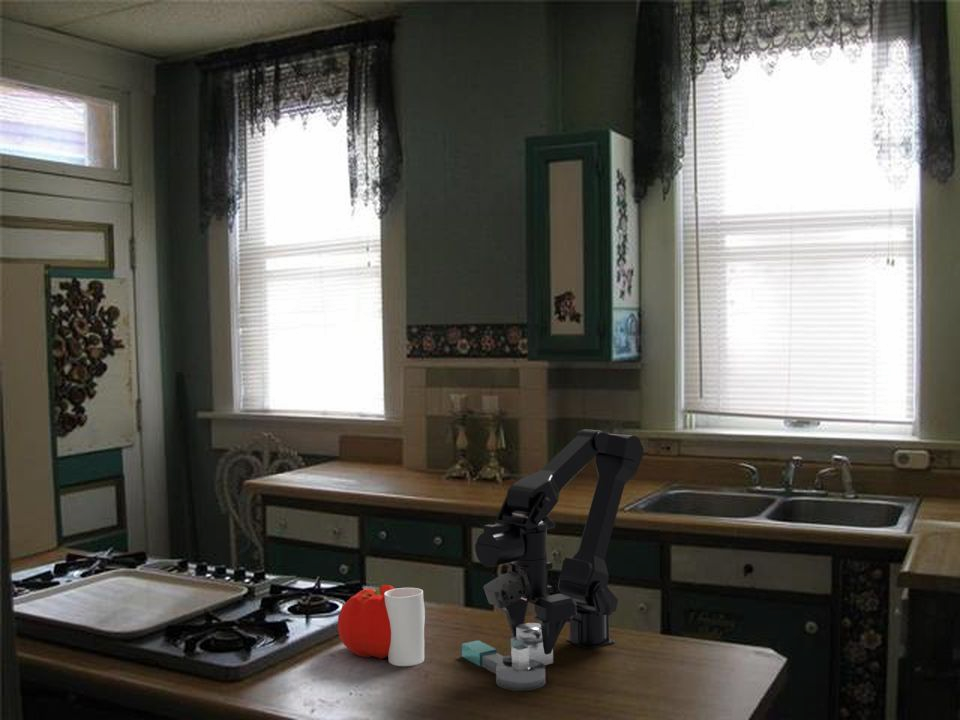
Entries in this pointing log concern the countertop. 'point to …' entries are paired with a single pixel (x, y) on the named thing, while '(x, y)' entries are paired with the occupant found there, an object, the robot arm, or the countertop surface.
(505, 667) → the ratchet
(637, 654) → the countertop surface
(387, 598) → the mug
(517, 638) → the cylinder with square end
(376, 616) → the tomato
